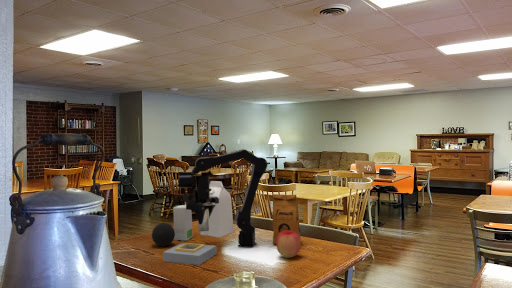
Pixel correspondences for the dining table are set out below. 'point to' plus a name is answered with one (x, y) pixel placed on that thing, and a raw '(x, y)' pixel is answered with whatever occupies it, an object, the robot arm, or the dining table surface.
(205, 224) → the spout can
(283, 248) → the apple
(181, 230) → the skincare box
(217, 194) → the milk
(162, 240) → the speaker
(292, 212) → the coffee package
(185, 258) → the grey flat square piece
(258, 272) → the dining table surface
